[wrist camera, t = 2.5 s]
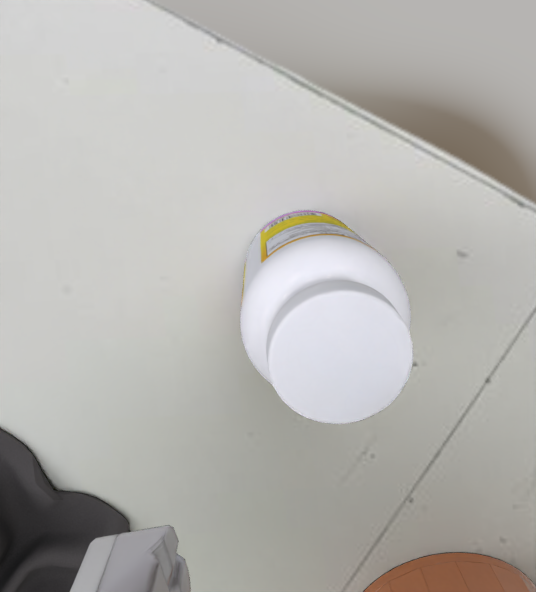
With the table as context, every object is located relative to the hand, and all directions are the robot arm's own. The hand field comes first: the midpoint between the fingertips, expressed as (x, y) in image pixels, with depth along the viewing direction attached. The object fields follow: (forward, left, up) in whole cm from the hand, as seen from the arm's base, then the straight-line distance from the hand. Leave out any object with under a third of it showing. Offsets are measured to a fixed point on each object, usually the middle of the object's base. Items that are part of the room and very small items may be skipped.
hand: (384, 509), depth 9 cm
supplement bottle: (0, 0, -19) cm, 19 cm away
